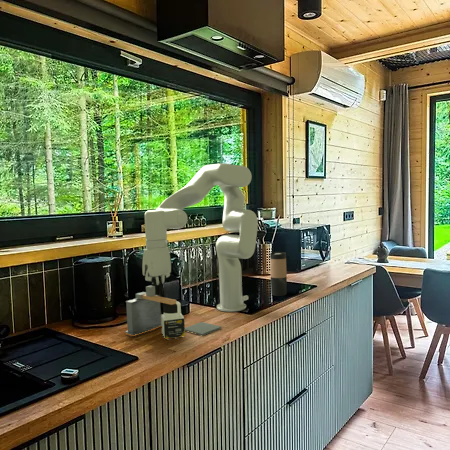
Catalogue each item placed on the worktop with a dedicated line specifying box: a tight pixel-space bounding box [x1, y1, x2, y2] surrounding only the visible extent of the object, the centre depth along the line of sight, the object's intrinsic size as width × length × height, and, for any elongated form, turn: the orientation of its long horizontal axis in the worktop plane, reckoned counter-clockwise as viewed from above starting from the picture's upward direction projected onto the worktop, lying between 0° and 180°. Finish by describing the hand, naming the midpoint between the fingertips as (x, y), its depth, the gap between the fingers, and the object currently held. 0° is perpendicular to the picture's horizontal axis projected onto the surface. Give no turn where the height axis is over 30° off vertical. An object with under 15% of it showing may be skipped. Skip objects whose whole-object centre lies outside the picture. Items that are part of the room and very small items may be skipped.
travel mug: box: [269, 251, 288, 297], centre depth 204 cm, size 8×8×20 cm
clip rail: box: [125, 295, 162, 335], centre depth 156 cm, size 14×4×12 cm, turn 139°
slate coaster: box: [185, 321, 222, 337], centre depth 155 cm, size 10×10×1 cm
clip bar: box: [135, 284, 177, 305], centre depth 149 cm, size 4×19×5 cm, turn 49°
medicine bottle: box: [161, 300, 186, 339], centre depth 149 cm, size 7×7×12 cm
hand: (158, 294), depth 154 cm, fingers closed
